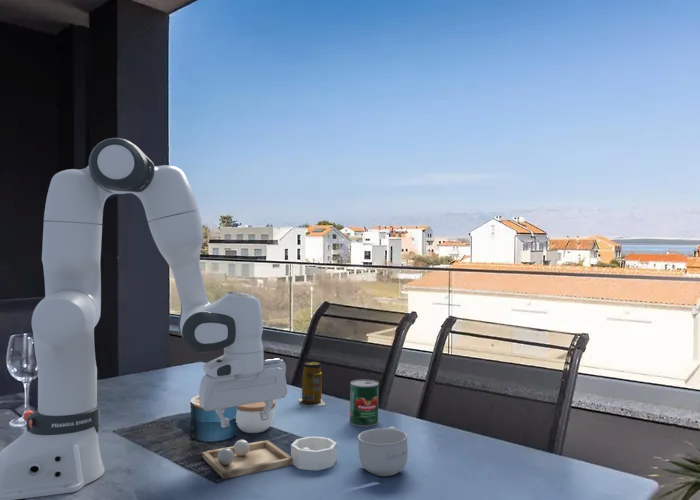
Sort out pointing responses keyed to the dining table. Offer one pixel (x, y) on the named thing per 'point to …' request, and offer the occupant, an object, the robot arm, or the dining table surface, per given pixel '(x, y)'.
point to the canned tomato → (364, 402)
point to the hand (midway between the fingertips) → (245, 423)
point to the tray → (249, 460)
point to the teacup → (383, 450)
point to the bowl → (314, 453)
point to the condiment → (311, 385)
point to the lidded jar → (253, 417)
